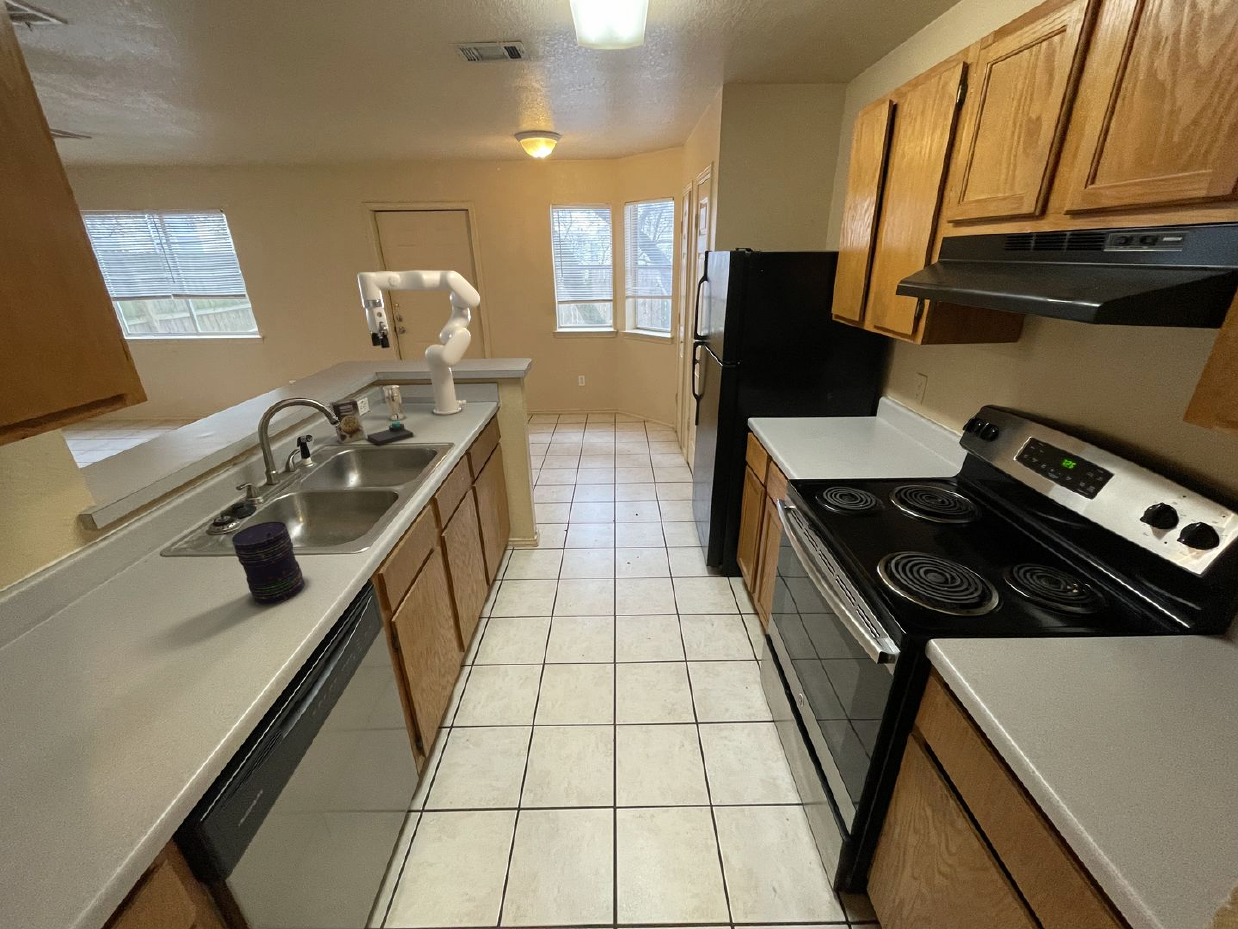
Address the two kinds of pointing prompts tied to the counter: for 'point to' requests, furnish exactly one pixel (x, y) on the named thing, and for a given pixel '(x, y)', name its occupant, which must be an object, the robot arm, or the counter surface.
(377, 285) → the robot arm
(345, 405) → the cookie box
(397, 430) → the scale
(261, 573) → the storage jar
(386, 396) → the beer glass
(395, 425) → the scale button
